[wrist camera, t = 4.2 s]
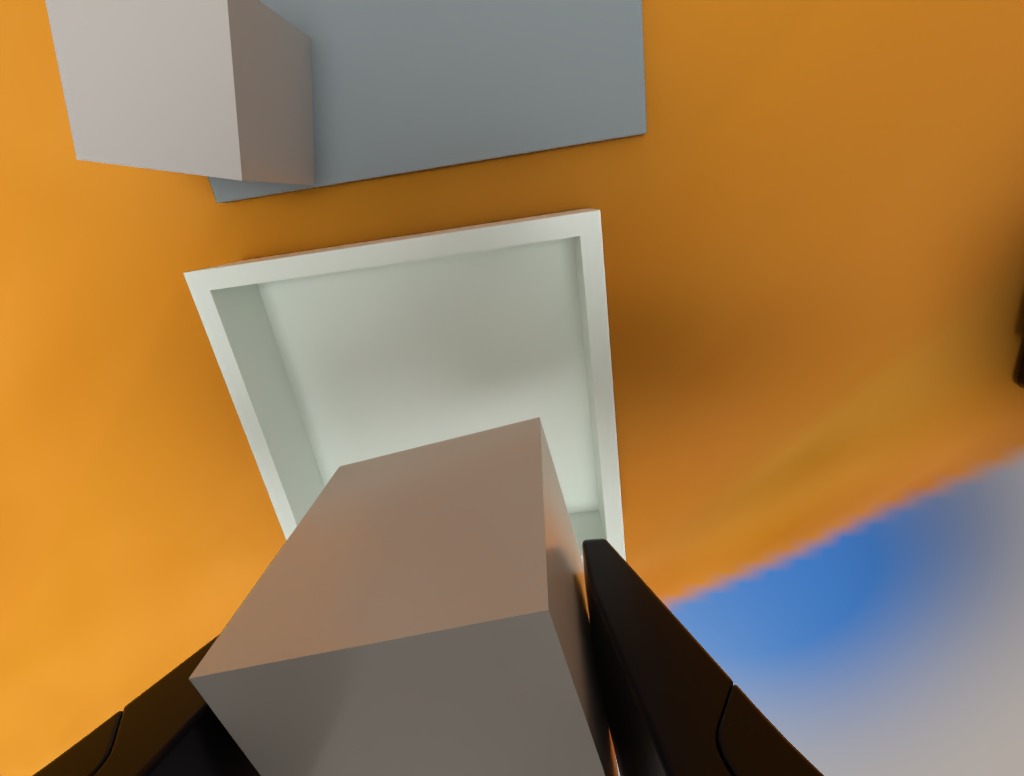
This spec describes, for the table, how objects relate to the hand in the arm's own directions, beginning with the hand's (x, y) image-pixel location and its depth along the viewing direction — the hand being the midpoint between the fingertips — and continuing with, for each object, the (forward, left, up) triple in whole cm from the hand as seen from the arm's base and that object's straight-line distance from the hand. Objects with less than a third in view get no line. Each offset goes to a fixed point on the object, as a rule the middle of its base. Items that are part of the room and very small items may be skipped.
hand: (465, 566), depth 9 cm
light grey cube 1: (0, 0, -1) cm, 1 cm away
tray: (+2, +1, -10) cm, 10 cm away
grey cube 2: (+6, -10, -10) cm, 15 cm away
